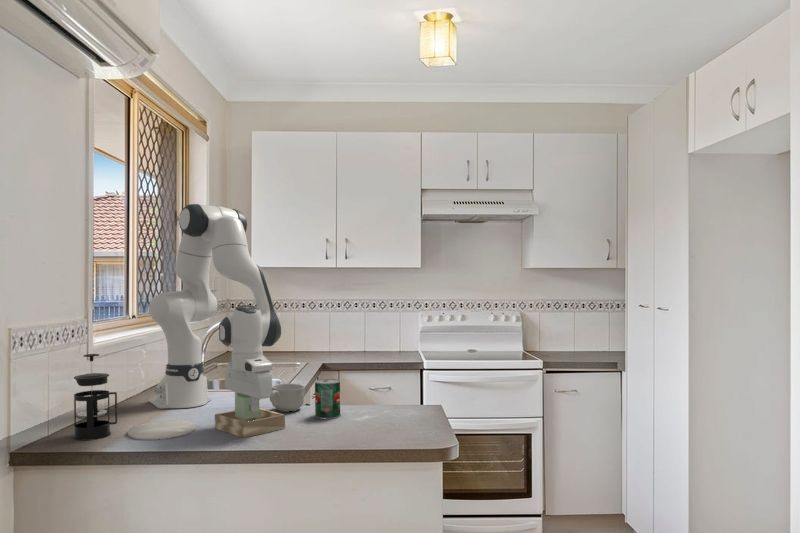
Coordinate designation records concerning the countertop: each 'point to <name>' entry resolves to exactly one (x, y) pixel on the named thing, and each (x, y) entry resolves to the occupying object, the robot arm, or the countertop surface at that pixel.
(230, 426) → the wooden frame
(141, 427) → the white round dish
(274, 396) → the teacup
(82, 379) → the french press
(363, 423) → the countertop surface
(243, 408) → the block
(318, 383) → the canned tomato
